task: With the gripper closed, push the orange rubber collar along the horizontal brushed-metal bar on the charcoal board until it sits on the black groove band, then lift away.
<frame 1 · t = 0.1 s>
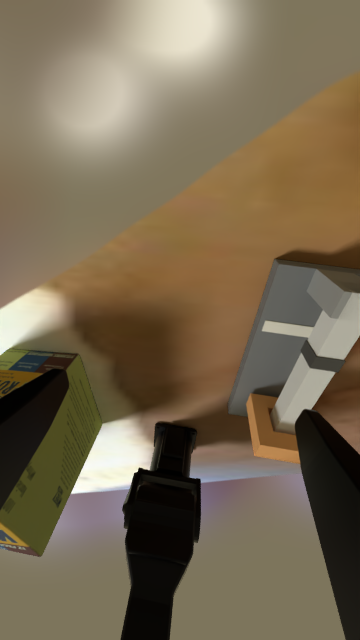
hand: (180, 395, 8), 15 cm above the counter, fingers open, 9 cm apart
protein box: (60, 388, 33), on the counter
collar: (280, 426, 23), point 5 cm above the counter, slide at 0.0 cm
pipe rig: (286, 353, 24), on the counter
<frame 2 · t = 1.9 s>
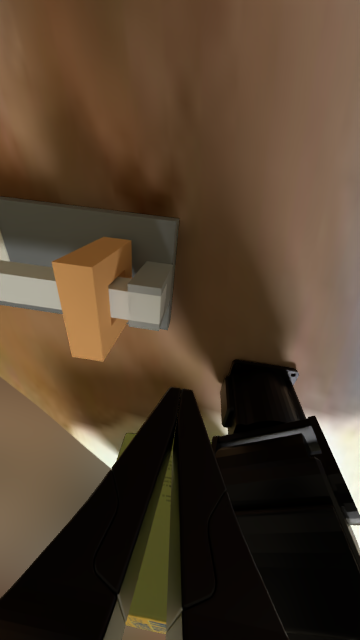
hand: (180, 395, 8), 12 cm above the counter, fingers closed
protein box: (177, 455, 34), on the counter
collar: (103, 294, 15), point 5 cm above the counter, slide at 0.0 cm
pipe rig: (60, 260, 19), on the counter
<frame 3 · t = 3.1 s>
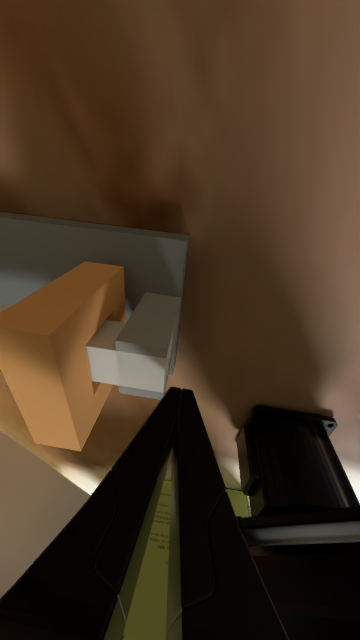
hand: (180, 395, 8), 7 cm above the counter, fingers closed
protein box: (182, 497, 30), on the counter
collar: (83, 347, 10), point 5 cm above the counter, slide at 0.0 cm
pipe rig: (33, 287, 15), on the counter
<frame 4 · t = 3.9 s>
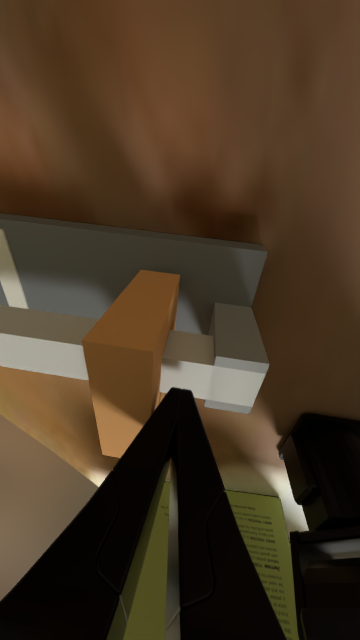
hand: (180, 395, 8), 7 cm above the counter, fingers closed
protein box: (212, 503, 29), on the counter
collar: (144, 356, 10), point 5 cm above the counter, slide at 1.0 cm, touching gripper
pipe rig: (90, 295, 15), on the counter
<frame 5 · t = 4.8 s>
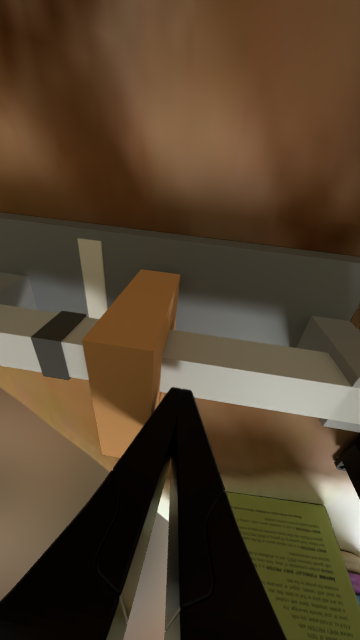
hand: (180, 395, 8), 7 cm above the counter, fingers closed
protein box: (250, 510, 29), on the counter
collar: (144, 356, 10), point 5 cm above the counter, slide at 6.2 cm, touching gripper
stacking toy: (331, 554, 34), on the counter
pipe rig: (167, 306, 14), on the counter
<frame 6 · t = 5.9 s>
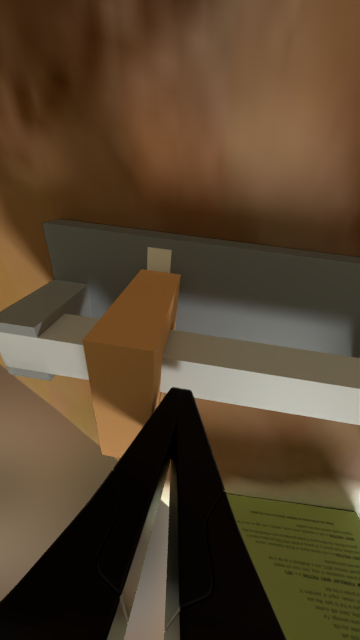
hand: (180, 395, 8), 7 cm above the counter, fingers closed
protein box: (277, 515, 29), on the counter
collar: (145, 356, 10), point 5 cm above the counter, slide at 9.8 cm, touching gripper
pipe rig: (222, 314, 14), on the counter
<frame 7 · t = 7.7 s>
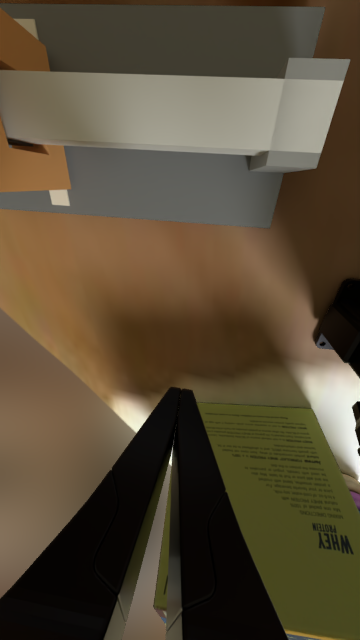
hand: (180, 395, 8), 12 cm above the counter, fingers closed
protein box: (239, 428, 29), on the counter
collar: (0, 111, 10), point 5 cm above the counter, slide at 9.8 cm
stacking toy: (327, 481, 33), on the counter
pipe rig: (121, 136, 14), on the counter
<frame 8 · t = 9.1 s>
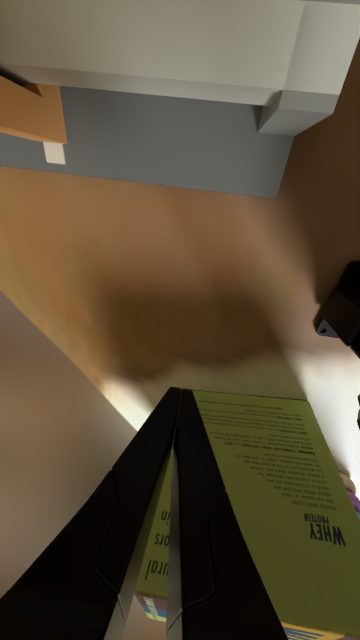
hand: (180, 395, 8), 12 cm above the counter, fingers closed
protein box: (232, 419, 28), on the counter
stacking toy: (319, 478, 32), on the counter
pipe rig: (123, 90, 13), on the counter
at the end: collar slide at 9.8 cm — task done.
